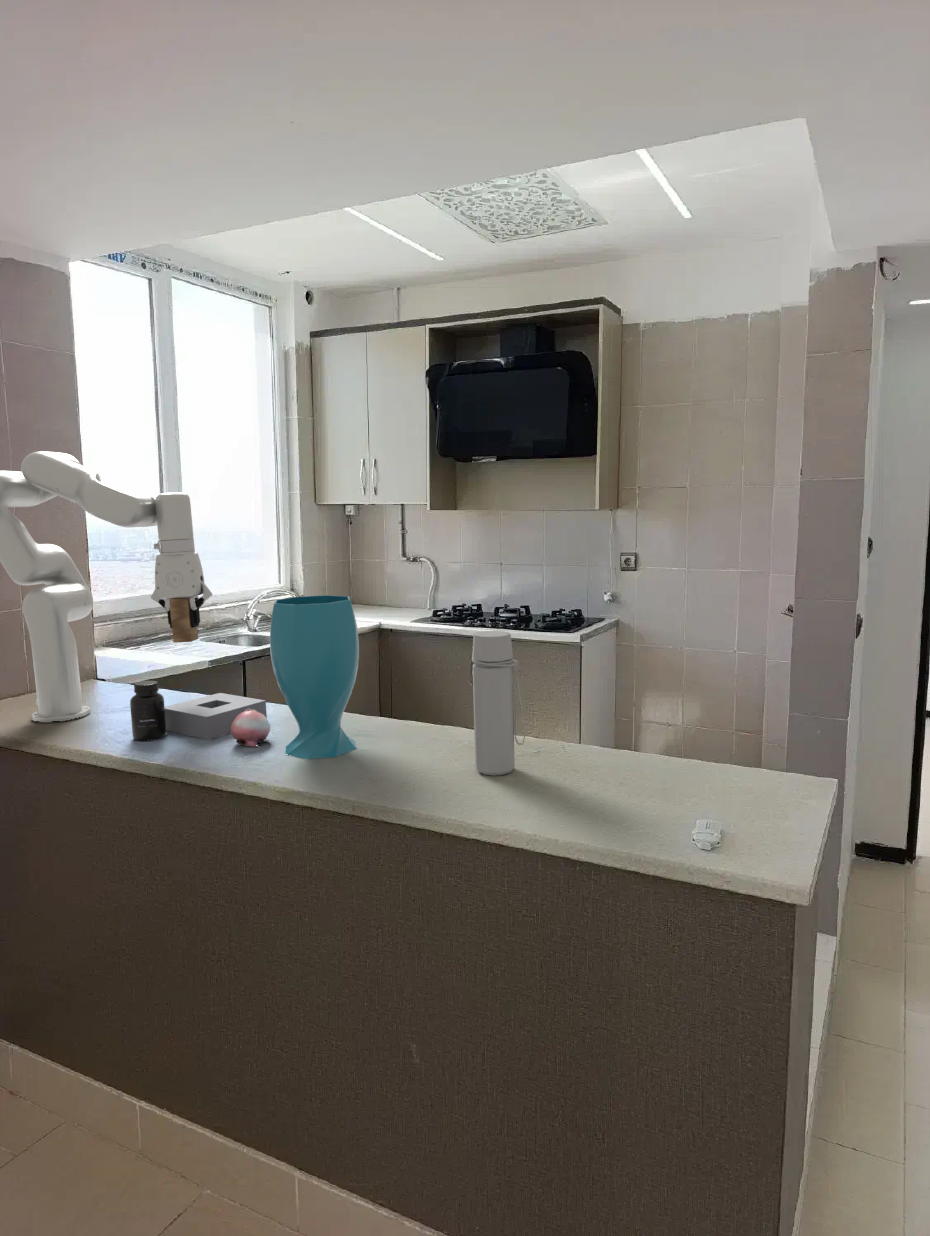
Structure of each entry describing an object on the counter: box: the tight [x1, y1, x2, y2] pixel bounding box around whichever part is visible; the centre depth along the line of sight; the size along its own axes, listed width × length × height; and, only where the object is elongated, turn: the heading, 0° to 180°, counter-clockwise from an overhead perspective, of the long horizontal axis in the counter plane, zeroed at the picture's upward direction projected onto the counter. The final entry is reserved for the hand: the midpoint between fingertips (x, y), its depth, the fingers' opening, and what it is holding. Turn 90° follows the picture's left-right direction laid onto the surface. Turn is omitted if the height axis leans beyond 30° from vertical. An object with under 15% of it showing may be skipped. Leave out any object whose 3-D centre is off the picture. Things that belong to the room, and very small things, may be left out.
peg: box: [169, 597, 199, 643], centre depth 185 cm, size 4×4×10 cm
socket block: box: [165, 692, 268, 741], centre depth 181 cm, size 16×16×5 cm
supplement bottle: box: [129, 680, 167, 742], centre depth 173 cm, size 7×7×12 cm
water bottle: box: [471, 630, 526, 777], centre depth 143 cm, size 9×8×25 cm
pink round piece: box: [230, 709, 271, 748], centre depth 166 cm, size 8×8×7 cm
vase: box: [269, 594, 360, 760], centre depth 160 cm, size 17×17×30 cm
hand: (184, 626), depth 185 cm, fingers closed on peg, 4 cm apart
